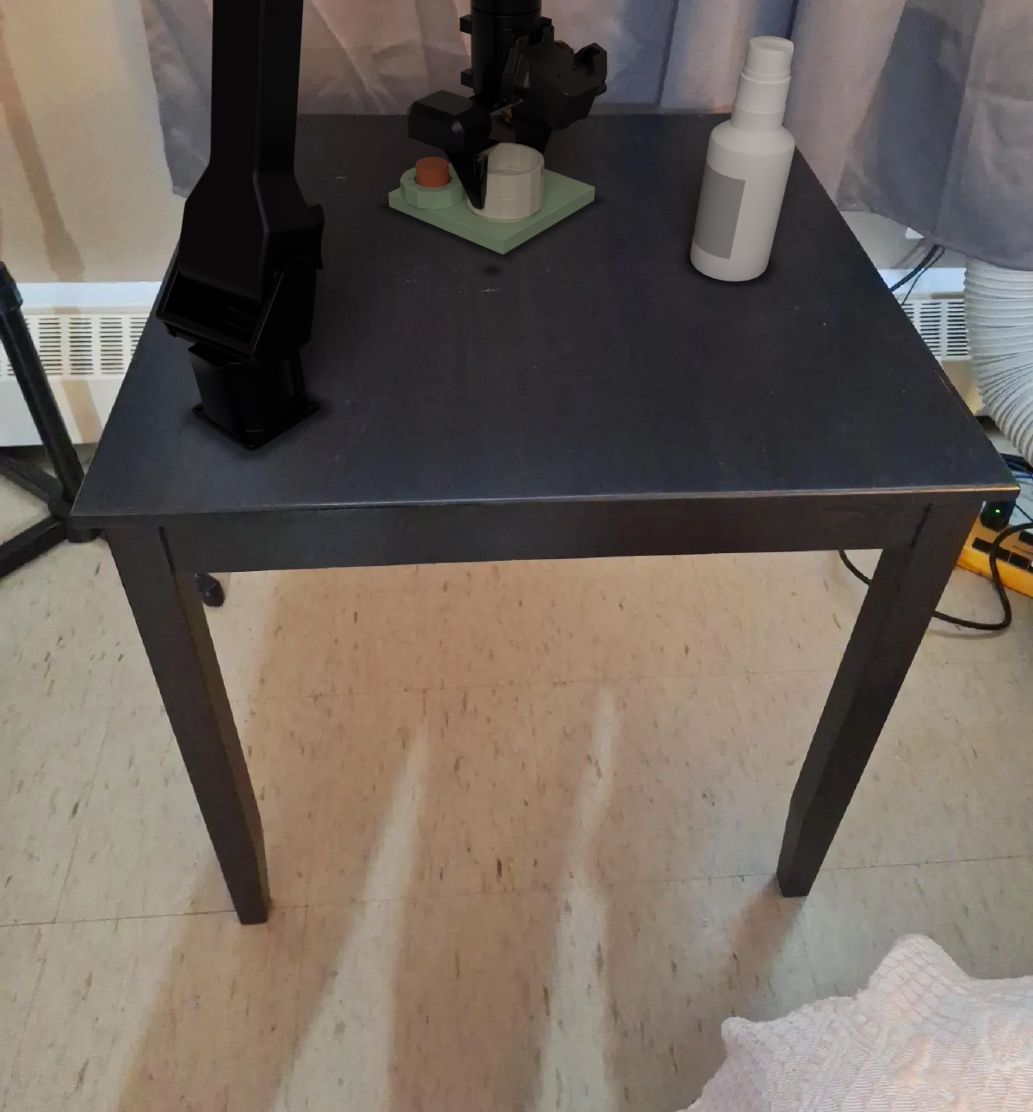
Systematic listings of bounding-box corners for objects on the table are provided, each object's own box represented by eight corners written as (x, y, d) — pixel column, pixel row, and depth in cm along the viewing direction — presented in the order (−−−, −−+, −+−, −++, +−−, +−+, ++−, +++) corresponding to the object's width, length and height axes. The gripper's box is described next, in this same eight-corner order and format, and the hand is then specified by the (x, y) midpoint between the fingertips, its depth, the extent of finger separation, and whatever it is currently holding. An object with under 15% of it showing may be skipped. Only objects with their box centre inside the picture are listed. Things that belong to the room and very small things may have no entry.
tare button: (434, 192, 86) (433, 173, 85) (410, 182, 87) (408, 164, 86) (455, 181, 88) (455, 162, 86) (431, 172, 89) (431, 153, 88)
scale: (499, 257, 83) (499, 225, 81) (385, 208, 89) (383, 177, 87) (594, 200, 91) (596, 170, 89) (484, 159, 97) (483, 130, 95)
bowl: (509, 232, 84) (510, 183, 80) (451, 208, 87) (450, 160, 83) (556, 205, 87) (559, 157, 84) (499, 183, 90) (499, 136, 87)
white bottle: (707, 237, 87) (745, 22, 74) (777, 257, 84) (830, 39, 71) (676, 269, 83) (711, 47, 70) (750, 291, 80) (800, 66, 67)
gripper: (510, 59, 66) (507, 262, 78) (654, -2, 77) (633, 186, 88) (396, 24, 71) (409, 220, 82) (546, -29, 81) (539, 152, 93)
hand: (503, 194), depth 86 cm, fingers closed on bowl, 7 cm apart
